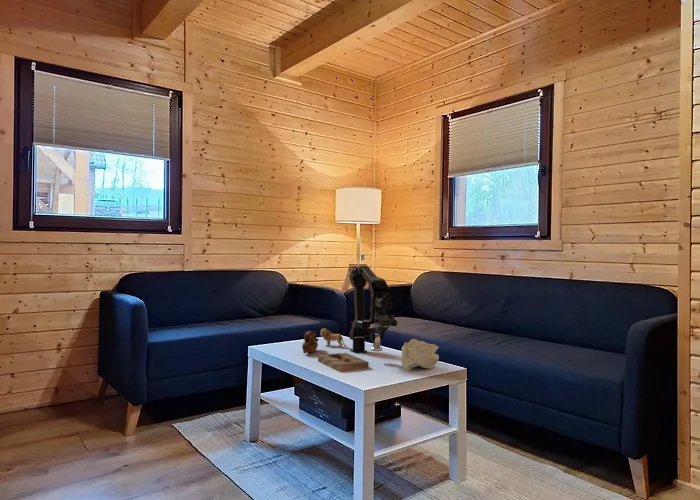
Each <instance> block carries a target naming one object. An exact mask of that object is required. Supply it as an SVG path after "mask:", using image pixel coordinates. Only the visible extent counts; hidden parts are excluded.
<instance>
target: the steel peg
mask: <svg viewBox="0 0 700 500" xmlns="http://www.w3.org/2000/svg"><path fill="white" fill-rule="evenodd" d="M370 351H372V352H381V351H383V347H382V346H381V342H380V334H378V333H375V341H374V343H372V346H371V347H370Z"/></svg>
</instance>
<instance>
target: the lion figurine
mask: <svg viewBox="0 0 700 500" xmlns="http://www.w3.org/2000/svg"><path fill="white" fill-rule="evenodd" d="M319 335H320V336H321V338H323V340H324V341H326V347H329V346H331V342H337V343H338V345H337V346H338V347H339V348H340V349H342V348H343V346H344V347H345V348H347V347H348V346H347V345H345V342H344V338H343V336H342V334H339V333H333V332H332V331H331V330H329V329H327V328H321V329H320V333H319Z"/></svg>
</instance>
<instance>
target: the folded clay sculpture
mask: <svg viewBox="0 0 700 500" xmlns="http://www.w3.org/2000/svg"><path fill="white" fill-rule="evenodd" d="M438 349H439V346H438V345H436V344H435V343H434V344H433V343H427V342H425V341H423V340H418V339H416V338H411V339H410V340H409V341H408V342H407V341H405V342H404V343H403V345H402V347H401V361H400V362H401V365H402V366H403V369H404V370H405V371H406V372H410V371H412V369H413V367H414V366H417V367H421V368H423V369H428V370H431V369H434V368H435V365H437V362H439V359H440V356H439V354H437V353H436V352H437V350H438Z"/></svg>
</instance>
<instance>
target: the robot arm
mask: <svg viewBox="0 0 700 500" xmlns="http://www.w3.org/2000/svg"><path fill="white" fill-rule="evenodd" d="M348 278H349V279H348V280H349V281H350V285H351V287H352V288H353V297H354V298H353V299H354V320H353V322H352V323H351V328H350V331H349V333H348V338H349V339H350V340H351V341H352V349H351V348H350V349H349V351H351V353H352V352H353V353H356V354H359V353H368V350H366V349H365V348H366V341H365V340H369V338H370V340H371V342H372V344H373V343H374V341H375V334H376V329H377V334H380V343H381V342H382V341H383V338H384V335H385V333H386V331H387V330H388V329H390V328H391V327H398V320H397V319H395V315H394V314H387V312H386V311H389V310H391V309H392V308H393V306H394V303H393V300H392V298H391V297H390V289H389V286H388V283H387V281H386V280H385V279H384V278H382V277H379V276H377V275H376V273H374V272H373V271H372V270H371V268H370V266H368V265H361V266H358V267H357V268H355V269H353V270H351V271H350V272H349V277H348ZM367 283H368V286H367V287H368V290H369V292H370V298H371V299H370V308H369V311H368V312H370V318H368V320H367V319H366V318H365V317H366V316H365V315H366V314H365V313H366V312H365V294H364V293H365V292H364V291H365V290H364V289H365V287H366V285H367ZM375 326H377V328H376V327H375ZM390 326H391V327H390Z"/></svg>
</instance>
